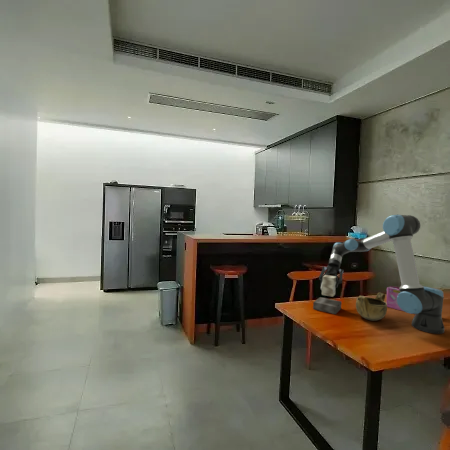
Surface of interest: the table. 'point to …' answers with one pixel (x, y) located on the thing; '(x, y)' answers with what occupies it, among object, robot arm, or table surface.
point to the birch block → (328, 285)
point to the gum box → (393, 297)
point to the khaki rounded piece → (372, 307)
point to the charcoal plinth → (327, 305)
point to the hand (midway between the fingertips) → (327, 290)
